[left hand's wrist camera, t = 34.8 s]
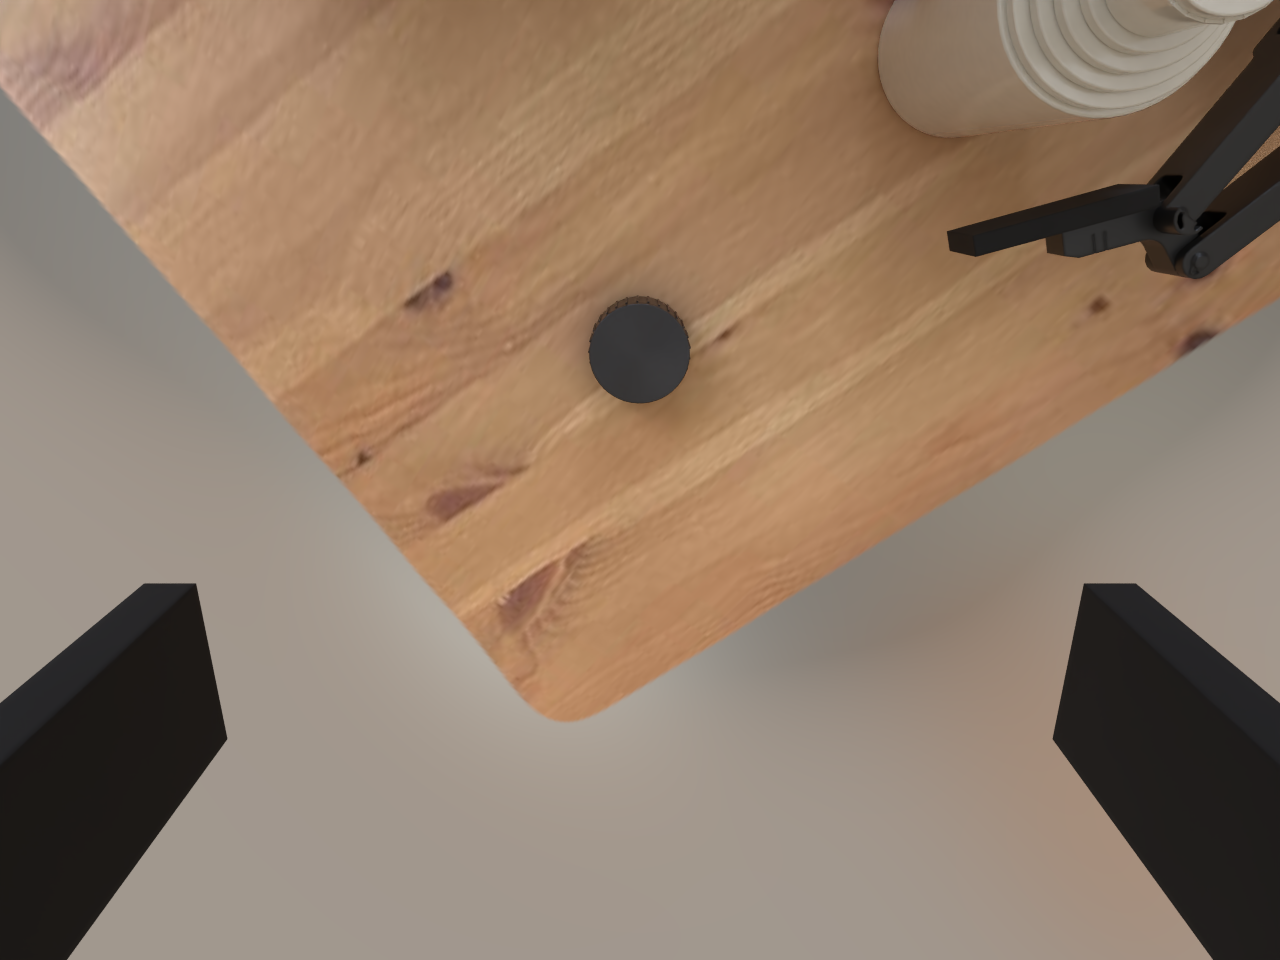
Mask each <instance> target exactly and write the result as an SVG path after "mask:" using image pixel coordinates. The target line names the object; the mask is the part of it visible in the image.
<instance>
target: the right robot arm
mask: <svg viewBox="0 0 1280 960" xmlns="http://www.w3.org/2000/svg"><path fill="white" fill-rule="evenodd" d="M1253 56H1254V57H1253V59H1252V61H1251V62H1250V63H1249V64H1248V66H1247V67H1246V68H1245V69H1244V70H1243V71H1242V73H1241V74H1240V75H1239V76H1238V77H1237V79H1236V80H1235V81H1234V82H1233V83H1232V84H1231V86H1230V87H1229V88H1228V89H1227V90H1226V92H1225V93H1224V94H1223V95H1222V96H1221V97H1220V99H1219V100H1218V101H1217V102H1216V103H1215V104H1214V106H1213V107H1212V108H1211V109H1210V110H1209V112H1208V113H1207V114H1206V115H1205V116H1204V117H1203V119H1202V120H1201V121H1200V122H1199V123H1198V125H1197V126H1196V127H1195V128H1194V129H1193V130H1192V132H1191V133H1190V134H1189V135H1188V136H1187V138H1186V139H1185V140H1184V141H1183V142H1182V143H1181V145H1180V146H1179V147H1178V148H1177V149H1176V151H1175V152H1174V153H1173V154H1172V155H1171V156H1170V158H1169V159H1168V160H1167V161H1166V162H1165V164H1164V165H1163V166H1162V167H1161V168H1160V169H1159V171H1158V172H1157V173H1156V174H1155V175H1154V176H1153V178H1152V179H1151V180H1150V181H1149V182H1148V184H1147V185H1144V184H1117V185H1113V186H1110V187H1106V188H1102V189H1099V190H1095V191H1091V192H1088V193H1084V194H1081V195H1077V196H1073V197H1070V198H1066V199H1062V200H1059V201H1055V202H1052V203H1048V204H1044V205H1041V206H1037V207H1033V208H1030V209H1026V210H1023V211H1019V212H1015V213H1012V214H1008V215H1004V216H1001V217H997V218H994V219H990V220H986V221H983V222H979V223H975V224H972V225H968V226H965V227H961V228H957V229H954V230H950V231H947V235H948V242H949V249H950V251H953V252H957V253H962V254H966V255H970V256H975V257H977V256H981V255H984V254H988V253H992V252H995V251H999V250H1003V249H1006V248H1010V247H1014V246H1017V245H1021V244H1025V243H1028V242H1032V241H1036V240H1039V239H1043V238H1046V246H1047V253H1050V254H1056V255H1061V256H1068V257H1077V258H1080V257H1084V256H1087V255H1091V254H1094V253H1099V252H1102V251H1105V250H1110V249H1113V248H1117V247H1121V246H1125V245H1128V244H1132V243H1136V242H1139V241H1140V242H1141V243H1142V245H1143V246H1144V248H1145V250H1146V252H1147V253H1146V256H1145V262H1146V265H1147V267H1148V268H1149V269H1150V270H1151V271H1155V272H1159V273H1164V274H1170V275H1175V276H1181V277H1187V278H1192V279H1198V278H1202V277H1204V276H1206V275H1208V274H1209V273H1211V272H1212V271H1213V270H1215V269H1216V268H1217V267H1219V266H1220V265H1221V264H1223V263H1224V262H1225V261H1227V260H1228V259H1229V258H1231V257H1232V256H1233V255H1234V254H1236V253H1237V252H1238V251H1240V250H1241V249H1242V248H1244V247H1245V246H1246V245H1248V244H1249V243H1250V242H1252V241H1253V240H1254V239H1256V238H1257V237H1258V236H1260V235H1261V234H1262V233H1264V232H1265V231H1266V230H1268V229H1269V228H1270V227H1272V226H1273V225H1274V224H1276V223H1277V222H1278V221H1280V146H1279V147H1278V148H1277V149H1275V150H1274V151H1273V152H1271V153H1270V154H1269V155H1268V156H1266V157H1265V158H1264V159H1262V160H1261V161H1260V162H1258V163H1257V164H1256V165H1255V166H1253V167H1252V168H1251V169H1249V170H1248V171H1247V172H1246V173H1244V174H1243V175H1242V176H1240V177H1239V178H1238V179H1237V180H1235V181H1234V182H1233V183H1231V184H1230V185H1229V186H1227V185H1228V183H1229V182H1230V181H1231V180H1232V179H1233V178H1234V177H1235V175H1236V174H1237V173H1238V172H1239V171H1240V170H1241V169H1242V167H1243V166H1244V165H1245V164H1246V163H1247V162H1248V161H1249V159H1250V158H1251V157H1252V156H1253V155H1254V154H1255V153H1256V152H1257V150H1258V149H1259V148H1260V147H1261V146H1262V145H1263V144H1264V142H1265V141H1266V140H1267V139H1268V138H1269V137H1270V136H1271V134H1272V133H1273V132H1274V131H1275V130H1276V129H1277V128H1278V126H1279V125H1280V18H1279V20H1278V21H1277V22H1276V23H1275V24H1274V26H1273V27H1272V28H1271V29H1270V30H1269V31H1268V33H1267V34H1266V35H1265V36H1264V37H1263V39H1262V40H1261V41H1260V42H1259V43H1258V44H1257V46H1256V47H1255V49H1254V51H1253ZM1226 186H1227V187H1226ZM1225 187H1226V188H1225ZM1224 188H1225V189H1224ZM1223 189H1224V190H1223Z"/></svg>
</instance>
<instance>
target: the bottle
mask: <svg viewBox="0 0 1280 960" xmlns="http://www.w3.org/2000/svg"><path fill="white" fill-rule="evenodd" d="M1272 1H1273V0H895V1H894V3H893V5H892V6H891V8H890V10H889V12H888V14H887V17H886V19H885V21H884V24H883V28H882V31H881V35H880V41H879V47H878V68H879V75H880V80H881V84H882V87H883V90H884V92H885V95H886V97H887V99H888V101H889V103H890V104H891V106H892V107H893V109H894V110H895V111H896V112H897V114H898V115H899V116H900V117H901V118H902V119H903V120H904V121H905V122H907V123H908V124H909V125H910V126H912V127H914V128H915V129H917V130H919V131H921V132H923V133H926V134H928V135H932V136H936V137H944V138H959V137H966V136H974V135H982V134H990V133H997V132H1005V131H1013V130H1020V129H1028V128H1036V127H1044V126H1051V125H1059V124H1067V123H1075V122H1082V121H1090V120H1098V119H1106V118H1113V117H1118V116H1124V115H1128V114H1131V113H1134V112H1138V111H1141V110H1143V109H1145V108H1148V107H1150V106H1152V105H1154V104H1156V103H1158V102H1160V101H1161V100H1163V99H1165V98H1166V97H1168V96H1170V95H1171V94H1173V93H1174V92H1175V91H1177V90H1178V89H1179V88H1181V87H1182V86H1183V85H1185V84H1186V83H1187V82H1188V81H1189V80H1190V79H1191V78H1192V77H1193V76H1194V75H1195V74H1196V73H1197V72H1198V71H1199V70H1200V69H1201V68H1202V67H1203V66H1204V65H1205V64H1206V63H1207V62H1208V61H1209V60H1210V58H1211V57H1212V56H1213V55H1214V54H1215V52H1216V51H1217V50H1218V49H1219V47H1220V46H1221V45H1222V43H1223V42H1224V40H1225V39H1226V37H1227V36H1228V34H1229V33H1230V31H1231V29H1232V27H1233V25H1234V23H1235V21H1237V20H1241V19H1245V18H1247V17H1249V16H1250V15H1252V14H1254V13H1256V12H1258V11H1260V10H1261V9H1263V8H1265V7H1266V6H1268V5H1269V4H1270V3H1271V2H1272Z"/></svg>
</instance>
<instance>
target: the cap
mask: <svg viewBox="0 0 1280 960" xmlns="http://www.w3.org/2000/svg"><path fill="white" fill-rule="evenodd" d="M687 338H689V337H688V334H687V330H685V329H684V324H683V321H682V320H680V318H679V317H678V316H677V312H676V311H675V312H674V311H673V310H672V309H671V308H670V307H669V305H668V304H667V305H666V304H664V303H662V302H661V301H659V299H658V300H656V299H653V298H649V296H647V297H638V296H637V297H631V298H628V297H626V299H623V300H621V301H619V302H618V301H616V303H615V304H613V305H612V306H611V307H607V310H606V311H605V312H604V313H603V314H602V315H600V317H599V320H598V322H597V324H596V323H595V325H594V329H593V333H592V335H591V338H590V341H589V342H591V343H590V348H589V351H588V353H589V358H590V364H591V368H592V371H593V374H594V375H595V377H596V379H597V381H598V382H599V384H600V385H601V386H602V387H603V388H604V389H605V390H606V391H607V392H608V393H610V394H611V395H613V396H614V397H616V398H618V399H621V400H623V401H626V402H631V403H648V402H653V401H656V400H659V399H661V398H663V397H665V396H666V395H668V394H669V393H671V392H672V391H673V390H674V389H675V388H676V387H677V386H678V385H679V384H680V382H681V381H682V379H683V377H684V376H685V373H686V371H687V369H688V364H689V360H690V349H691V348H690V344H689V340H688V339H687Z"/></svg>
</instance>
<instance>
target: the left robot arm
mask: <svg viewBox="0 0 1280 960" xmlns="http://www.w3.org/2000/svg"><path fill="white" fill-rule="evenodd" d="M226 740H227V735H226V730H225V725H224V720H223V715H222V710H221V705H220V700H219V695H218V690H217V685H216V680H215V675H214V670H213V665H212V660H211V655H210V650H209V646H208V640H207V636H206V631H205V626H204V621H203V616H202V611H201V606H200V601H199V596H198V591H197V586H196V584H143V585H142V586H141V587H139V588H138V589H137V590H136V591H135V592H133V593H132V594H131V595H130V596H129V597H127V598H126V599H125V600H124V601H123V602H121V603H120V604H119V605H118V606H117V607H115V608H114V609H113V610H112V611H111V612H109V613H108V614H107V615H106V616H105V617H103V618H102V619H101V620H100V621H99V622H97V623H96V624H95V625H94V626H93V627H91V628H90V629H89V630H88V631H87V632H85V633H84V634H83V635H82V636H81V637H79V638H78V639H77V640H76V641H74V642H73V643H72V644H71V645H70V646H68V647H67V648H66V649H65V650H64V651H62V652H61V653H60V654H59V655H58V656H56V657H55V658H54V659H53V660H52V661H50V662H49V663H48V664H47V665H46V666H44V667H43V668H42V669H41V670H40V671H38V672H37V673H36V674H35V675H34V676H32V677H31V678H30V679H29V680H28V681H26V682H25V683H24V684H23V685H22V686H20V687H19V688H18V689H17V690H16V691H14V692H13V693H12V694H11V695H9V696H8V697H7V698H6V699H5V700H3V701H2V702H1V703H0V960H67V959H68V958H69V956H70V955H71V953H72V952H73V951H74V949H75V948H76V946H77V945H78V944H79V942H80V941H81V940H82V938H83V937H84V936H85V934H86V933H87V931H88V930H89V929H90V927H91V926H92V925H93V923H94V922H95V920H96V919H97V918H98V916H99V915H100V913H101V912H102V911H103V909H104V908H105V907H106V905H107V904H108V903H109V901H110V900H111V898H112V897H113V896H114V894H115V893H116V891H117V890H118V889H119V887H120V886H121V885H122V883H123V882H124V880H125V879H126V878H127V876H128V875H129V874H130V872H131V871H132V870H133V868H134V867H135V865H136V864H137V863H138V861H139V860H140V859H141V857H142V856H143V854H144V853H145V852H146V850H147V849H148V847H149V846H150V845H151V843H152V842H153V841H154V839H155V838H156V837H157V835H158V834H159V832H160V831H161V830H162V828H163V827H164V826H165V824H166V823H167V821H168V820H169V819H170V817H171V816H172V814H173V813H174V812H175V810H176V809H177V808H178V806H179V805H180V803H181V802H182V801H183V799H184V798H185V797H186V795H187V794H188V793H189V791H190V790H191V788H192V787H193V786H194V784H195V783H196V782H197V780H198V779H199V777H200V776H201V775H202V773H203V772H204V771H205V769H206V768H207V766H208V765H209V763H210V762H211V761H212V760H213V758H214V757H215V755H216V754H217V753H218V751H219V750H220V748H221V747H222V746H223V744H224V743H225V742H226ZM1053 740H1054V742H1055V743H1056V744H1057V746H1058V747H1059V748H1060V750H1061V751H1062V753H1063V754H1064V755H1065V757H1066V758H1067V760H1068V761H1069V762H1070V764H1071V765H1072V766H1073V768H1074V769H1075V771H1076V772H1077V773H1078V775H1079V776H1080V777H1081V779H1082V780H1083V781H1084V783H1085V784H1086V786H1087V787H1088V788H1089V790H1090V791H1091V792H1092V794H1093V795H1094V797H1095V798H1096V799H1097V801H1098V802H1099V804H1100V805H1101V806H1102V808H1103V809H1104V810H1105V812H1106V813H1107V815H1108V816H1109V817H1110V819H1111V820H1112V821H1113V823H1114V824H1115V826H1116V827H1117V828H1118V830H1119V831H1120V832H1121V834H1122V835H1123V836H1124V838H1125V839H1126V841H1127V842H1128V843H1129V845H1130V846H1131V848H1132V849H1133V850H1134V852H1135V853H1136V854H1137V856H1138V857H1139V859H1140V860H1141V861H1142V863H1143V864H1144V865H1145V867H1146V868H1147V870H1148V871H1149V872H1150V874H1151V875H1152V876H1153V878H1154V879H1155V881H1156V882H1157V883H1158V885H1159V886H1160V887H1161V889H1162V890H1163V892H1164V893H1165V894H1166V895H1167V897H1168V898H1169V900H1170V901H1171V902H1172V904H1173V905H1174V907H1175V908H1176V909H1177V911H1178V912H1179V913H1180V915H1181V916H1182V918H1183V919H1184V920H1185V922H1186V923H1187V924H1188V926H1189V927H1190V929H1191V930H1192V931H1193V933H1194V934H1195V936H1196V937H1197V938H1198V940H1199V941H1200V942H1201V944H1202V945H1203V947H1204V948H1205V949H1206V951H1207V952H1208V953H1209V955H1210V956H1211V957H1212V959H1213V960H1280V703H1279V702H1278V701H1276V700H1275V699H1274V698H1273V697H1272V696H1271V695H1269V694H1268V693H1267V692H1266V691H1264V690H1263V689H1262V688H1261V687H1260V686H1258V685H1257V684H1256V683H1255V682H1254V681H1252V680H1251V679H1250V678H1249V677H1247V676H1246V675H1245V674H1244V673H1243V672H1241V671H1240V670H1239V669H1238V668H1237V667H1236V666H1234V665H1233V664H1232V663H1231V662H1230V661H1228V660H1227V659H1226V658H1225V657H1224V656H1222V655H1221V654H1220V653H1219V652H1217V651H1216V650H1215V649H1214V648H1213V647H1211V646H1210V645H1209V644H1208V643H1207V642H1205V641H1204V640H1203V639H1202V638H1201V637H1199V636H1198V635H1197V634H1196V633H1195V632H1193V631H1192V630H1191V629H1190V628H1189V627H1187V626H1186V625H1185V624H1184V623H1183V622H1181V621H1180V620H1179V619H1178V618H1177V617H1175V616H1174V615H1173V614H1172V613H1171V612H1169V611H1168V610H1167V609H1166V608H1165V607H1163V606H1162V605H1161V604H1160V603H1159V602H1157V601H1156V600H1155V599H1154V598H1153V597H1151V596H1150V595H1149V594H1148V593H1146V592H1145V591H1144V590H1143V589H1142V588H1141V587H1139V586H1138V585H1137V584H1084V586H1083V591H1082V596H1081V601H1080V606H1079V611H1078V616H1077V621H1076V626H1075V630H1074V635H1073V640H1072V645H1071V650H1070V655H1069V660H1068V665H1067V670H1066V675H1065V680H1064V685H1063V690H1062V695H1061V700H1060V705H1059V710H1058V715H1057V720H1056V725H1055V730H1054V735H1053Z"/></svg>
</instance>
